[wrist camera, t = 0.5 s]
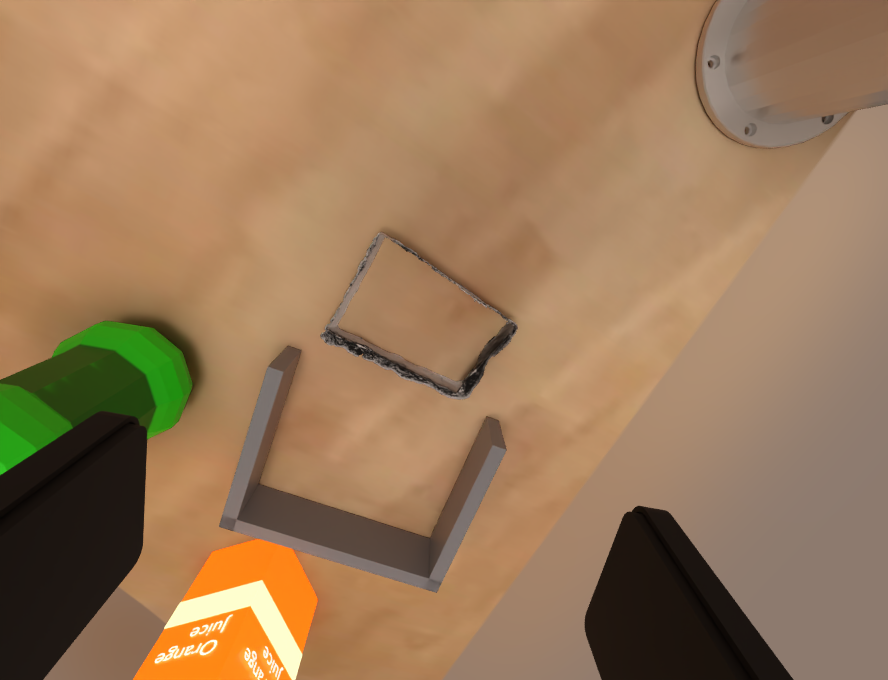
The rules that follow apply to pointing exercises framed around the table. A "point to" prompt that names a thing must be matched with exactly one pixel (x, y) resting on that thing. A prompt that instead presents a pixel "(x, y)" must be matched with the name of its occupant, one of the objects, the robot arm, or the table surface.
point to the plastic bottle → (93, 387)
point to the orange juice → (238, 619)
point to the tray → (342, 531)
